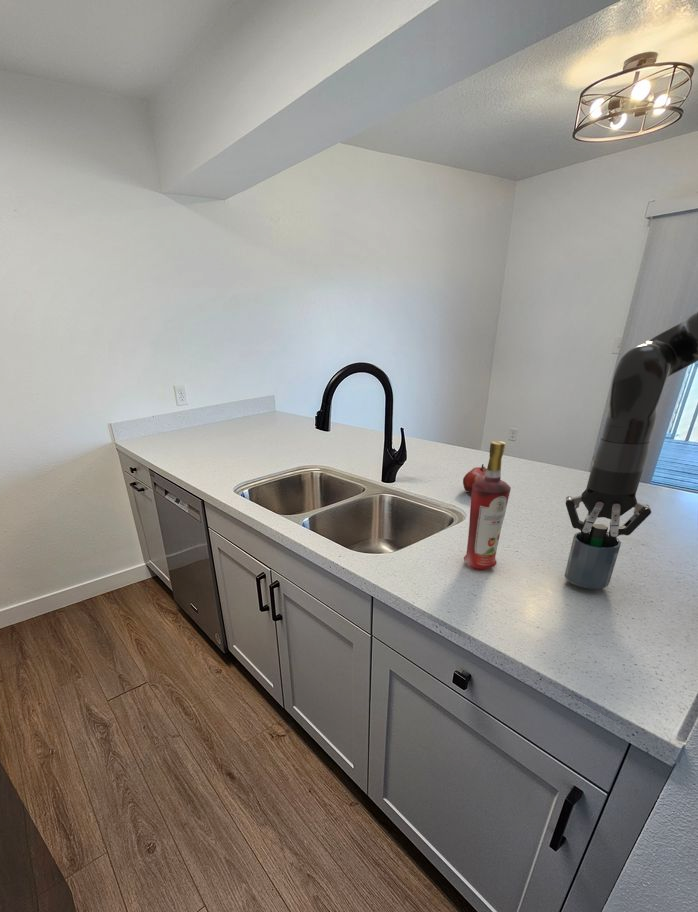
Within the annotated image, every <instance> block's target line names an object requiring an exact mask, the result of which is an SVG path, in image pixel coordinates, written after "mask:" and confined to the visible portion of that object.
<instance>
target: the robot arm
mask: <svg viewBox="0 0 698 912" xmlns="http://www.w3.org/2000/svg"><path fill="white" fill-rule="evenodd" d="M697 362H698V310H697V311H695V312H694V313H692V314H691V315H690V316H688V317H687V318H686V319H685V320H683V321H681V322H679V323H678V324H676V325H673V326H672V327H670V328H668V329H666V330H664V331H663V332H661V333H659V334H657V335H655V336H654V337H652V338H649V339H648V340H646V341H644V342H643V343H640V344H638V345H637V346H634V347H632V348H630V349H629V350H627V351H626V352H625V353H624V354H623V355H622V356H621V357H620V358H619V360H618V361H617V364H616V366H615V368H614V372H613V376H612V380H611V386H610V394H609V402H608V409H607V410H608V411H607V414H606V417H605V419H604V423H603V426H602V427H603V428H602V431H601V435H600V439H599V442H598V443H597V446H596V449H595V451H594V455H593V457H592V465H591V468H590V473H589V476H588V480H587V484H586V488H585V490H584V491H583V492H582V493H581V495H578V496H573V497H572V496H571V495H570V496H569V495H568V496H566V497H565V506H566V507H565V508H566V510H567V513H568V516H569V520H570V524H571V527H572V528H573V529H577V530H579V531H580V532H581V533H580V537H579V541H580V542H582V543H584V544H587V543H588V540H589V536H590V531H591V527H592V525H593V524H596V521H597V518H601V519H602V518H605V519H608V520H609V529H608V531H607V535H606V538H605V542H604V545H603V548H609V547H614V544H615V541H616V538H617V539H618V537H619V536H630V535H631V534H632V533H634V531H635V530H636V529H637V528H638V527H639V526H640V525H641V524H642V523H643V522H645V520H646V519H647V518H648V517H649V516H650V515H651V514H652V510H651V507H650V505H648V504H642V503H641V502H639V501H638V499H637V492H638V488H639V485H640V481H641V478H642V476H643V471H644V468H645V465H646V461H647V458H648V455H649V450H650V449H649V448H650V443H651V439H652V436H653V432H654V429H655V426H656V422H657V417H658V405H659V403H660V400H661V396H662V394H663V390H664V387H665V384H666V381H667V379H668V378H669V377H671V376H673V375H675V374H676V373H678V372H680V371H682V370H683V369H686V368H688V367H689V366H691V365H693V364H694V363H697ZM580 503H582V504H583V505H584V507H585V508H586V511H587V513H586V516H585V518H584V520H583V521H582V520H580V518H579V517H580V516H579V514H578V511H577V509H578V508H579V507H580ZM632 509H633V510H632ZM630 510H632V512H633V513H632V515H631V516H630V517H629V518H628V520H627V521H625V523H624V524H623V525H620V522H621V521H620V517H622V516H623V515H624V514H626V513H628V512H629V511H630Z"/></svg>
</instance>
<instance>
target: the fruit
mask: <svg viewBox="0 0 698 912" xmlns="http://www.w3.org/2000/svg"><path fill="white" fill-rule="evenodd" d="M486 471H487V467H485V466H484V463H483V464H482V465H481V466H479V467H477V466H476V467H473V468H472V469H471V470H469V471H468V472H467V473H466V474H465V475H464V477H463V478H462V485H463V489H464V490H465V491H466V492H467V493H470V494H472V485H473V484H474V483H475V482H477V481H479V480H481V479H485V475H486Z"/></svg>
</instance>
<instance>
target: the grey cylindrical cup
mask: <svg viewBox="0 0 698 912" xmlns="http://www.w3.org/2000/svg"><path fill="white" fill-rule="evenodd" d="M580 533H581V531H578V532H576V533H574V535H573V537H572V542H571V546H570V551H569V554H568V559H567V563H566V567H565V572H564V577H565V579H566V580H567V581H568V582H569V583H570V584H572V585H575V586H577V587H581V588H584V589H590V590H601V589H605V588H607V587H608V586H609V584H610V583H611V580H612V576H613V572H614V569H615V565H616V561H617V559H618V556H619V552H620V548H621V545H622V542H621V540H620V539H619V538H618V537H617V538H616V541H615V544H614V547H609V548H603V546H602V547H595V546H590V545H588V543H587V544H584V543H582V542H580V541H579V537H580ZM606 535H607V534H606ZM589 537H590V536H589ZM605 538H606V537H605ZM588 541H589V540H588ZM604 542H605V539H604ZM603 545H604V543H603Z"/></svg>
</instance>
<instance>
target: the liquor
mask: <svg viewBox="0 0 698 912" xmlns="http://www.w3.org/2000/svg"><path fill="white" fill-rule="evenodd" d="M489 446H490V447H489V458H488V462H487V466H486V469H487V471H486V475H485V479H481V480H479V481H477V482H475V483H474V484H473V485H472V493H471V498H470V506H469V522H468V523H469V524H468V534H467V545H466V553H465V555H464V557H463V561H464V563H465V564H467V566H468V567H469V568H471V569H473V570H476V571H487V570H489V569H492V568H493V567H495V566H496V565H497V564H498V563H497V558H496V557H497V550H498V545H499V541H500V536H501V532H502V528H503V523H504V520H505V516H506V511H507V507H508V504H509V503H508V502H509V497H510V493H511V489H512V487H511V486H510V485H509V484H508V483H507V482H506V481H505V480H502V479H501V477H502V460H503V459H502V458H503V456H504V454H505V448H506V442H505V441H500V440H493V441H491V442H490V445H489Z"/></svg>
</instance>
